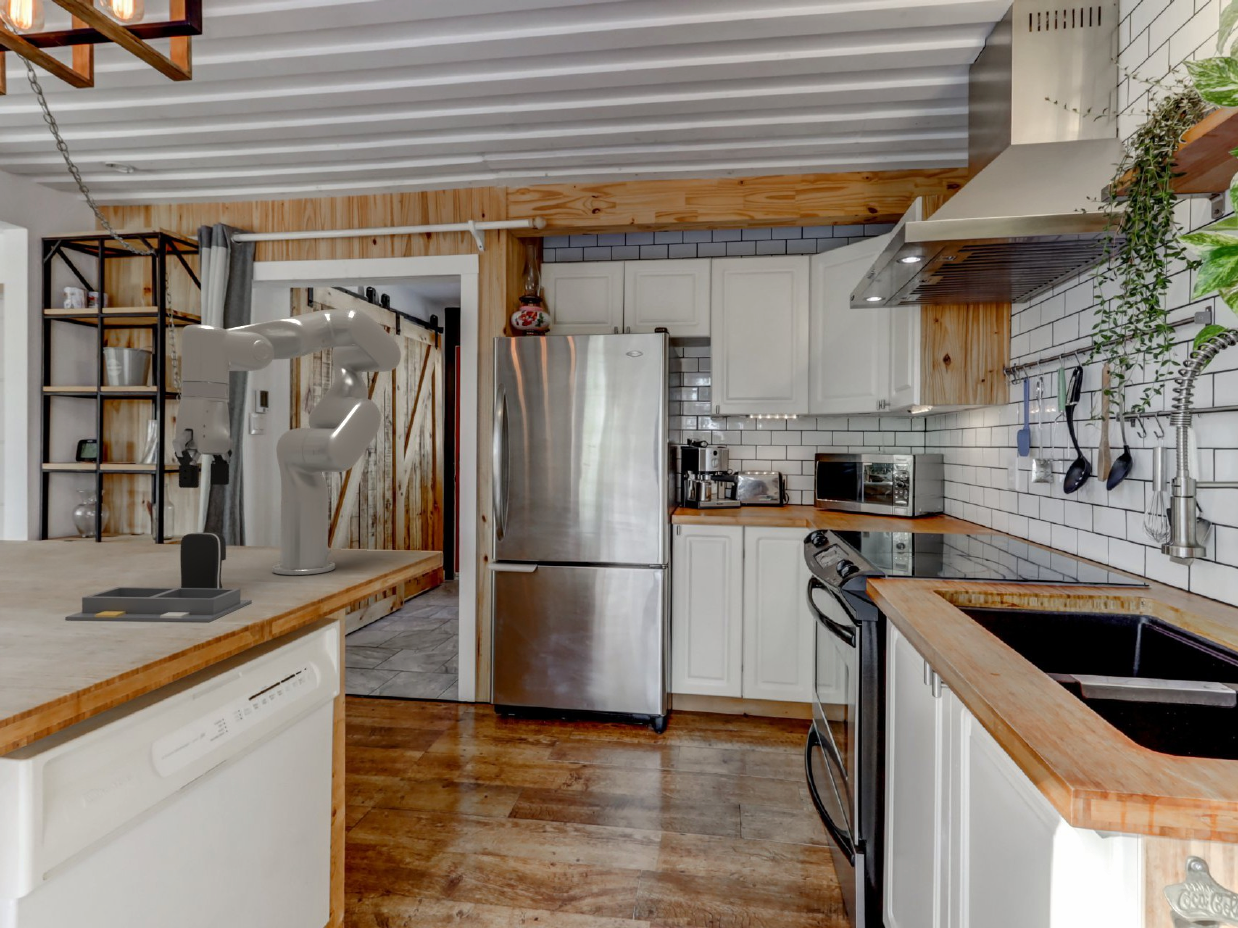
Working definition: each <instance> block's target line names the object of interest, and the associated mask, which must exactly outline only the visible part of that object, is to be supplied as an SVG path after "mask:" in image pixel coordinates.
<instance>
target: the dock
mask: <svg viewBox="0 0 1238 928" xmlns="http://www.w3.org/2000/svg"><path fill="white" fill-rule="evenodd" d="M252 601H253V600H252V599H241V588H222V589H219V588H181V587H157V586H156V587H151V586H150V587H149V586H147V587H146V586H144V587H143V586H117V587H113V588H110V589H107V590H104V591H100V592H97V593H94V594H93V593H92V594H89V595H86V596H82V598H81V606H82V607H81V611H80V612H76V613H73V614H70V615H66V616H64V617H65V618H64V619H65V621H94V622H95V621H97V622H98V621H99V622H101V621H103V622H104V621H108V622H114V621H115V622H164V623H165V622H167V623H168V622H169V623H171V622H175V623H177V622H179V623H180V622H181V623H184V622H185V623H210V622H212V621H216V620H217V619H219V618H222V617H223V616H226V615H228V614H230V613H232V612H234V611H237V610H239V609H241V608H243V607H245V606H248V605H250V604H252Z"/></svg>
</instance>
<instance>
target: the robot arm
mask: <svg viewBox="0 0 1238 928" xmlns="http://www.w3.org/2000/svg"><path fill="white" fill-rule="evenodd" d="M331 348H332V351H331V352H332V353H331V360H332V364H333V365H332V366H333V371H334V382H333V383H332V385H331V386H330V388H329V389H328V390H327V391H326V393H325V394H324V395H323V396H322V397H321V399H320V400H319V401H318V402H317V403H316V405H314V407H313V408H312V410H311V412H310V413H309V417H308V426H309V427H297V428H293V429H289V430H287V431H285V432H284V433H282V434H281V436H280V437H279V439H278V440H277V444H276V448H275V449H276V450H275V451H276V458H277V462H278V467H279V475H280V486H281V487H280V489H281V492H280V498H281V500H280V555H279V556H280V563H277V564H273V566H272V568H271V569H272V573H274V574H277V575H287V576H288V575H289V576H300V575H302V576H305V575H315V574H316V575H317V574H323V573H328V572H331V571H334V569H336V563H335V562H333V561H329V560H328V559H329V558H328V556H329V555H330V554H331V552H332V550H331V548H330V547H329V546H328V545H329V499H330V498H329V496H330V495H329V493H330V492H329V487H328V484H327V481H326V479H325V477H324V475H323V474H322V472H323V473H343V472H346V471H349V470H351V469H352V468H353V467H354V466H355V465H356V464H357V462H358V461H359V460H360V458H361V457H362V456H363V454H364V453H365V451H366V450H367V449H368V447H369V446H370V444H371V443H372V442H373V440H374V438H375V437H376V436H377V434H378V432H379V430H380V426H381V411H380V408H379V407H378V406H377V404H376V403H375V402H374V401H373V400H371V399H369V389H368V387H367V384H366V383H365V380H364V378H363V374H362V373H376V372H377V373H379V372H380V373H381V372H383V373H384V372H386V373H387V372H391V371H393V370H395V369H396V368H397V367H398V366H399V365H400V362H401V357H402V354H401V350H400V346H399V344H398V342H397V341H396V340H395V338H394V337H393V336H392V335H391V334H390V333H389V332H388V331H386V330H385V329H384V328H383V327H382V326H381V324H380V323H378V322H377V321H376V320H375V319H374V318H373V317H371V316H370V315H368V314H367V313H366V312H364V311H363V310H361V309H357V308H340V309H336V308H335V309H331V308H330V309H322V310H317V311H312V312H308V313H303V314H299V315H294V316H290V317H285V318H279V319H272V320H268V321H264V322H259V323H258V322H257V323H253V324H247V325H242V326H235V327H231V328H226V329H225V328H222V327H221V326H214V325H210V324H208V325H207V324H189V325H185V326H184V328H183V329H182V332H181V370H180V372H181V384H180V385H181V388H180V389H181V393H180V394H181V397H180V399H179V403H178V408H177V414H176V422H175V423H176V424H175V437H174V439H173V440H172V441H171V442H172V447H173V449H174V457H175V458H176V465H177V466H178V488H181V489H198V488H199V486H200V465H198V461H199V460H200V457H201V455H206V456H207V455H209V457H210V459H211V461H212V463H210V484H211V485H217V486H218V485H219V486H220V485H221V486H222V485H223V486H225V485H226V486H227V485H229V484H230V464H231V463H232V462H231V457H232V455H233V448H234V446H235V445H234V444H235V443H234V440H233V439H232V438H231V424H230V413H229V412H230V411H229V405H228V404H229V403H230V372H254V371H259V370H260V371H261V370H263V369H265V368H266V367H268V366H270V364H271V363H272V362H273V361H275V360H288V359H296V358H301V357H305V356H309V355H311V354H315V353H317V352H322V351H324V350H327V349H331Z"/></svg>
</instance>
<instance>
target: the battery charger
mask: <svg viewBox="0 0 1238 928" xmlns="http://www.w3.org/2000/svg"><path fill="white" fill-rule="evenodd" d="M226 543H227V542H226V538H225V536H224V535H223V534H221V533H218V532H189V533H186V534H185V535H183V536H182V539H181V541H180V550H179V551H180V561H179V562H180V580H181V581H180V588H219V589H223V584H222V565H223V561H226V560H227V544H226Z"/></svg>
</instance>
